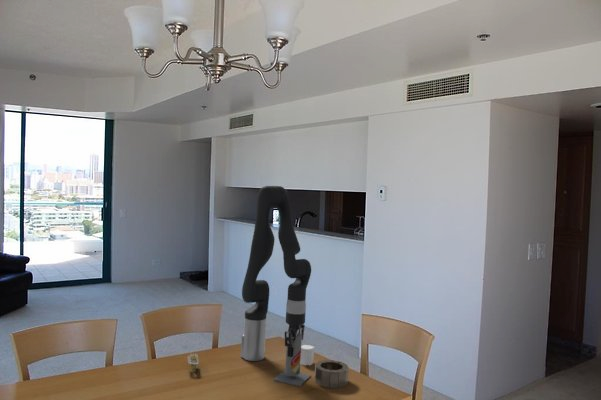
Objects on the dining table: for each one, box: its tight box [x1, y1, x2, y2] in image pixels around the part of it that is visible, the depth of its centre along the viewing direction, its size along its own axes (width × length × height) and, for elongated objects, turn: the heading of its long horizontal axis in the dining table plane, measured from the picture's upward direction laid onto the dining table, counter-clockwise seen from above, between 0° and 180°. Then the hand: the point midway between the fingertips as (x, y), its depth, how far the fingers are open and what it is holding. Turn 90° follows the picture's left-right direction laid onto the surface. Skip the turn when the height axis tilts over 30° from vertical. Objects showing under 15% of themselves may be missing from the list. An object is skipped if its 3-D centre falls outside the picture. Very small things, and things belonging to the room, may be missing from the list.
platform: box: [187, 352, 200, 373], centre depth 192 cm, size 12×18×7 cm, turn 15°
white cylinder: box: [300, 344, 316, 367], centre depth 206 cm, size 7×7×7 cm
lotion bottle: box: [284, 325, 303, 376], centre depth 189 cm, size 6×6×20 cm
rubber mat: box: [273, 370, 312, 387], centre depth 189 cm, size 11×11×1 cm
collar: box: [313, 359, 349, 389], centre depth 188 cm, size 12×12×6 cm
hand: (293, 354), depth 189 cm, fingers closed on lotion bottle, 5 cm apart
